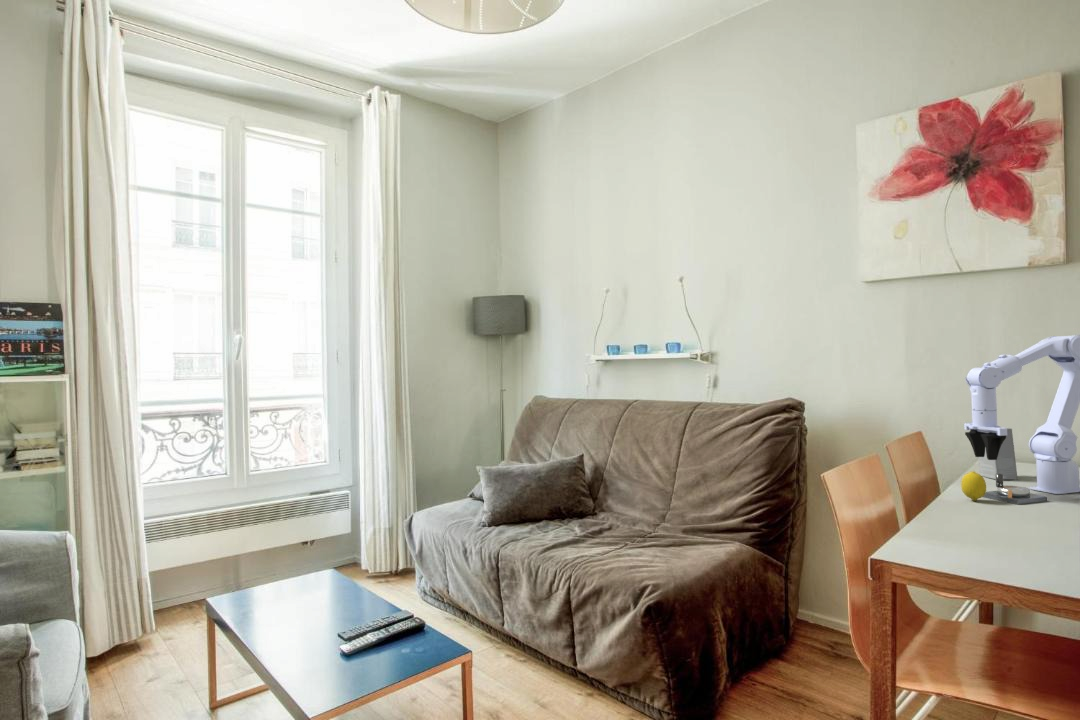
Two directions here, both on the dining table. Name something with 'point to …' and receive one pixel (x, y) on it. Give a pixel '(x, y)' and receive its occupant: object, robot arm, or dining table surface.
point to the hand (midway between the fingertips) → (985, 458)
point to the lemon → (973, 485)
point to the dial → (1010, 488)
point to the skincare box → (1000, 461)
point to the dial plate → (1015, 498)
